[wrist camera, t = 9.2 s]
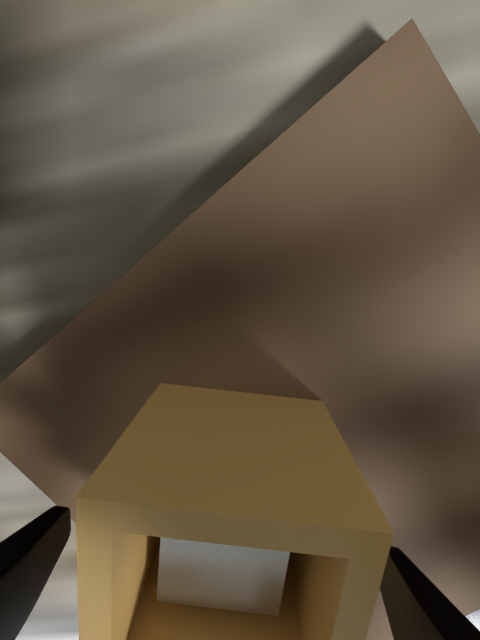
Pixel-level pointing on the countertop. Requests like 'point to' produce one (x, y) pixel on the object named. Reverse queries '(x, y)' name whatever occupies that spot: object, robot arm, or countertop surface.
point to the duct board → (307, 312)
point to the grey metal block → (221, 576)
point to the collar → (229, 518)
